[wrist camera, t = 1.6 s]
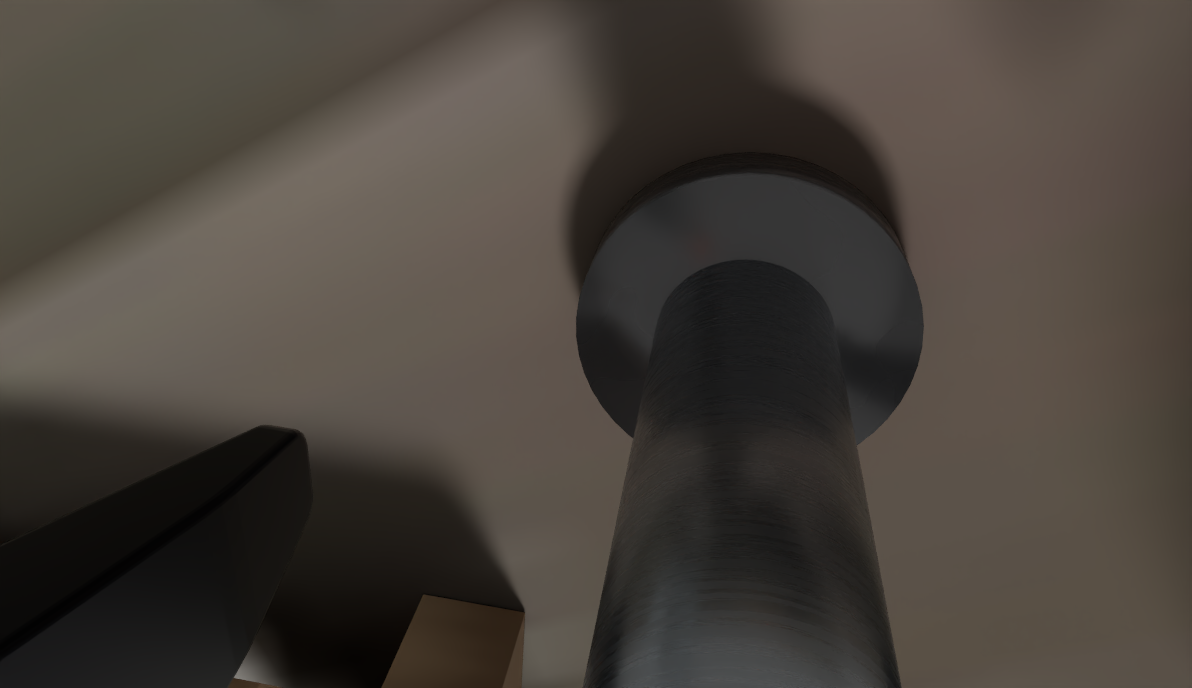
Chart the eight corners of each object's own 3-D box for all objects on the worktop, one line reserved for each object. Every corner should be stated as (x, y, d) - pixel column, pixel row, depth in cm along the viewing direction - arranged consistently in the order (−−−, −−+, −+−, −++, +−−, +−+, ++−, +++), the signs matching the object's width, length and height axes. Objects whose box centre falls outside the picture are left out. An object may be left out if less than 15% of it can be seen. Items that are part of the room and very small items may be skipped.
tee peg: (951, 175, 11) (1698, 1315, 2) (867, 458, 13) (1085, 1557, 5) (600, 133, 11) (138, 957, 3) (578, 413, 14) (287, 1340, 5)
